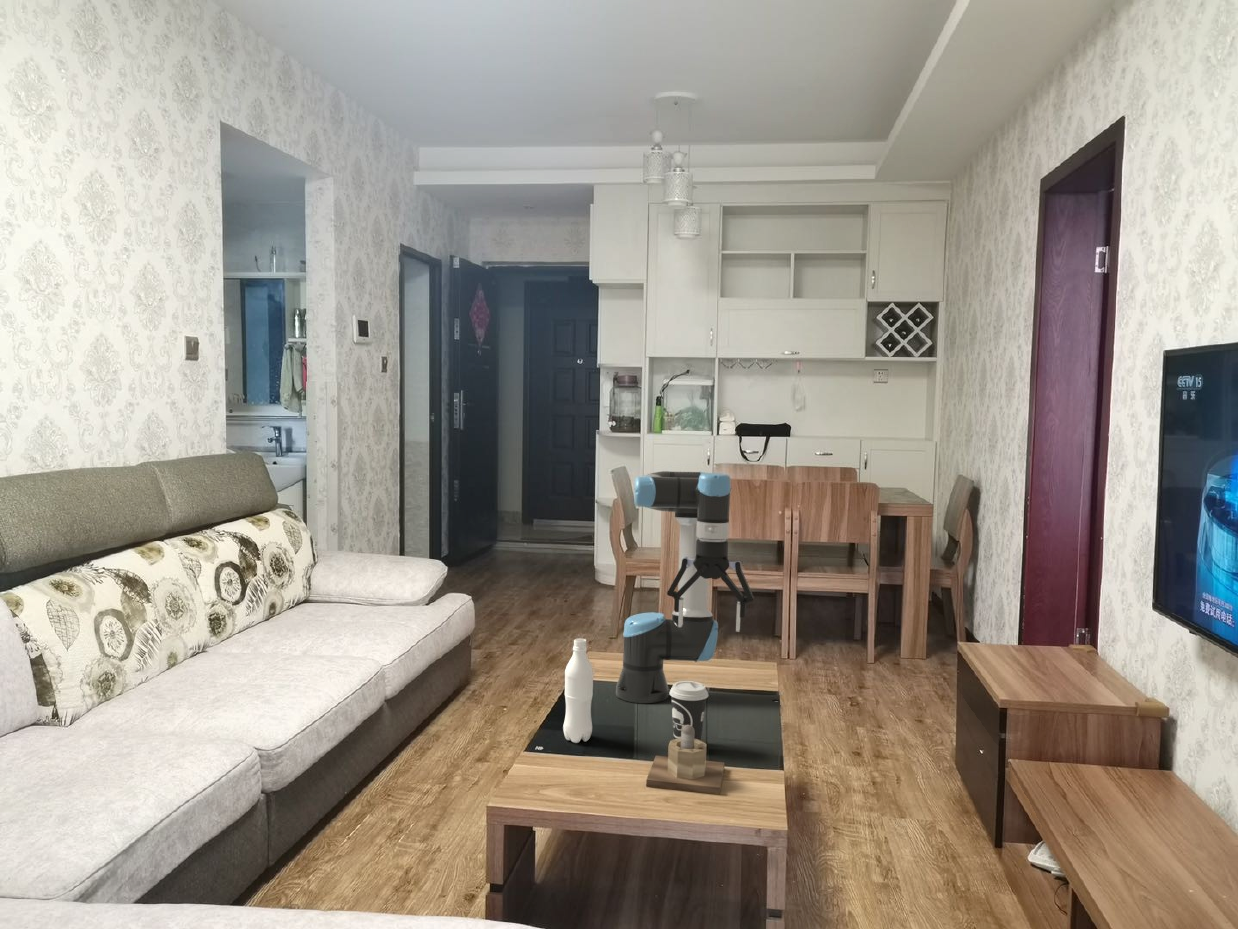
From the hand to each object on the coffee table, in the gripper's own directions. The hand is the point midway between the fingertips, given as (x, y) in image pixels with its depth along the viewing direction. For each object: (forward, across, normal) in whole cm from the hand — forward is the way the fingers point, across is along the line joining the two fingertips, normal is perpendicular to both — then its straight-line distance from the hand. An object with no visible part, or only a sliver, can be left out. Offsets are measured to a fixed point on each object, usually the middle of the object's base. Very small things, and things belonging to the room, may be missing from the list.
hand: (708, 628), depth 212 cm
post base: (+31, -3, -14) cm, 34 cm away
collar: (+29, -3, -14) cm, 33 cm away
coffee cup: (+31, -5, +5) cm, 32 cm away
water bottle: (+31, -32, +2) cm, 45 cm away
